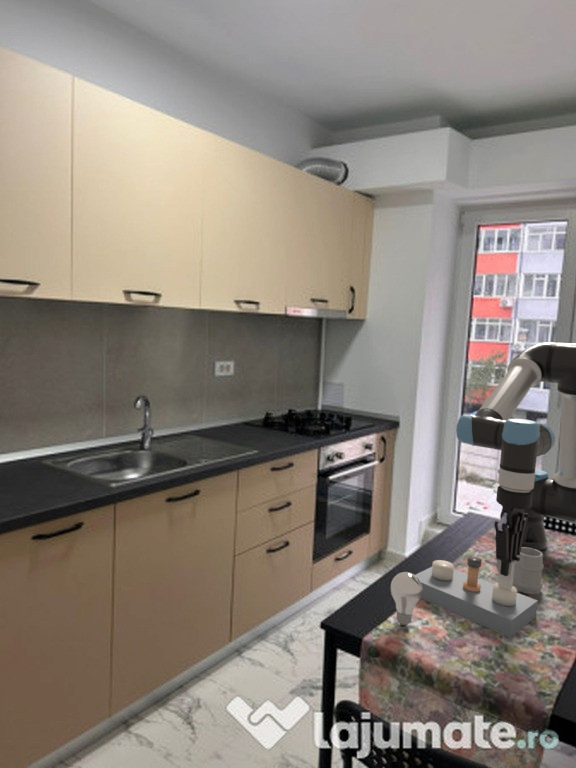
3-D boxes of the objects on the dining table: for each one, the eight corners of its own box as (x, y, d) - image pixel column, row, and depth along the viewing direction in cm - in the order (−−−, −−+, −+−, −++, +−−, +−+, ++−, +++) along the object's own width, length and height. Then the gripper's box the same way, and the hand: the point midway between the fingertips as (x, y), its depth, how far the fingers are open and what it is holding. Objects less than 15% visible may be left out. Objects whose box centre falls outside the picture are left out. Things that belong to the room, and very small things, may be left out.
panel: (437, 577, 152) (439, 563, 151) (536, 616, 133) (537, 600, 133) (408, 592, 142) (409, 577, 141) (509, 637, 124) (511, 620, 123)
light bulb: (384, 616, 130) (388, 566, 128) (414, 617, 130) (418, 567, 129) (391, 633, 123) (396, 580, 121) (423, 633, 123) (427, 580, 122)
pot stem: (468, 583, 140) (470, 554, 139) (483, 589, 137) (486, 560, 136) (459, 588, 137) (462, 558, 136) (475, 594, 134) (478, 564, 134)
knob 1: (437, 584, 147) (439, 558, 146) (455, 591, 143) (457, 565, 142) (426, 590, 143) (428, 563, 142) (444, 598, 140) (447, 570, 139)
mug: (537, 598, 143) (542, 552, 142) (490, 583, 150) (494, 539, 149) (545, 587, 149) (550, 543, 148) (499, 574, 156) (503, 531, 155)
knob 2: (496, 608, 136) (499, 580, 135) (518, 617, 132) (521, 588, 131) (486, 615, 132) (489, 587, 131) (508, 625, 128) (511, 595, 127)
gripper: (511, 479, 136) (501, 574, 138) (486, 488, 127) (476, 589, 129) (543, 487, 130) (532, 585, 133) (519, 496, 121) (508, 602, 124)
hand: (505, 587), depth 131 cm, fingers closed
